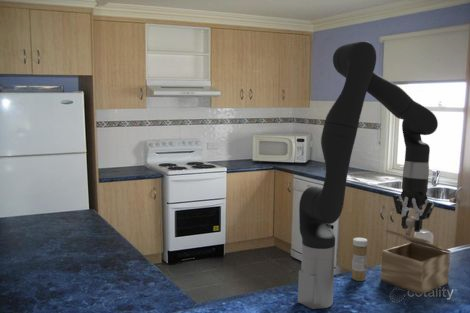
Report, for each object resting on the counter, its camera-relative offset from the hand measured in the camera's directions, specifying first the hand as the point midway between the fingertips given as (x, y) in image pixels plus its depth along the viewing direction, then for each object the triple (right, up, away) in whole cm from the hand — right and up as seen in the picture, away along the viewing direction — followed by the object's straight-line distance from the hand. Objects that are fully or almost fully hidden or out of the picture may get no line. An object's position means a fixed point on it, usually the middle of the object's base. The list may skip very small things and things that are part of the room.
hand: (411, 229), depth 149 cm
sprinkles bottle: (-15, -17, +6) cm, 24 cm away
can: (+12, -16, +23) cm, 30 cm away
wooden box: (+3, -18, +4) cm, 18 cm away
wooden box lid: (+3, -4, +3) cm, 6 cm away
